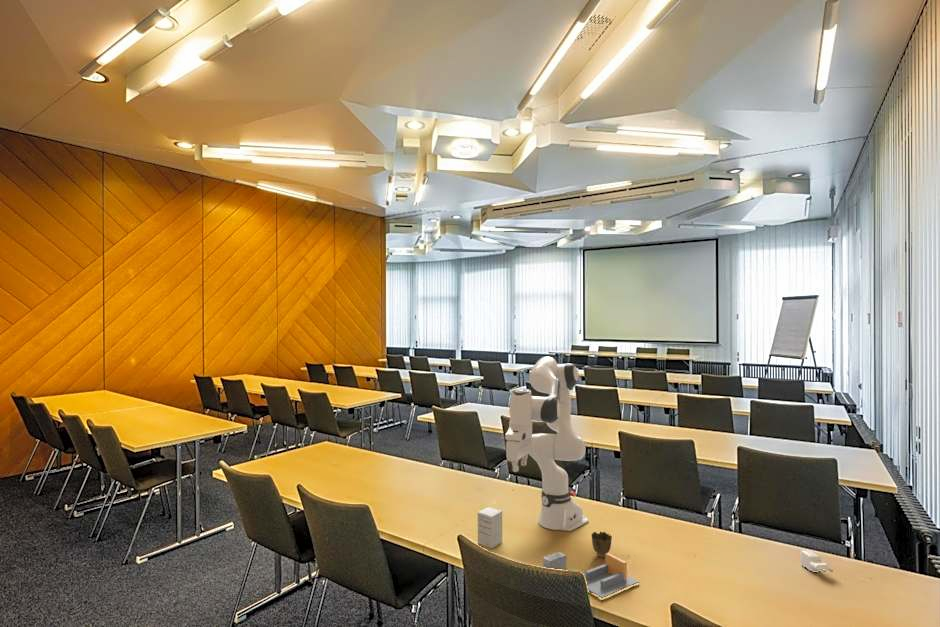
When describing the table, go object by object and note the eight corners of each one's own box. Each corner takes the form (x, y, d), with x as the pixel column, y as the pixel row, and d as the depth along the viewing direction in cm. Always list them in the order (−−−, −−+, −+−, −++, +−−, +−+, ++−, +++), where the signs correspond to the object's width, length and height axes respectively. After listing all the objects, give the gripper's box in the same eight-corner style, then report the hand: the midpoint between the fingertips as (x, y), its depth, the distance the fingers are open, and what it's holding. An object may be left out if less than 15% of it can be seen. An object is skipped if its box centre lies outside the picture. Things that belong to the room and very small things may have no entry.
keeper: (606, 567, 182) (606, 547, 182) (638, 585, 170) (638, 563, 170) (570, 581, 172) (570, 560, 172) (601, 601, 160) (601, 578, 160)
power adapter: (835, 581, 173) (835, 563, 173) (822, 581, 173) (822, 564, 173) (810, 565, 184) (810, 549, 185) (798, 565, 184) (798, 549, 184)
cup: (608, 551, 194) (608, 530, 194) (614, 561, 187) (614, 539, 187) (589, 551, 194) (589, 531, 194) (594, 561, 187) (594, 539, 187)
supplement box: (488, 537, 207) (488, 506, 207) (502, 542, 202) (503, 510, 202) (476, 543, 201) (477, 511, 201) (491, 549, 196) (491, 516, 196)
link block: (559, 565, 184) (559, 551, 184) (566, 569, 181) (566, 555, 181) (542, 571, 179) (542, 557, 179) (549, 575, 176) (549, 561, 177)
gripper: (521, 426, 203) (520, 461, 203) (503, 435, 185) (502, 473, 184) (536, 428, 201) (535, 463, 200) (519, 437, 182) (519, 476, 182)
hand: (519, 468), depth 192 cm, fingers open, 8 cm apart
